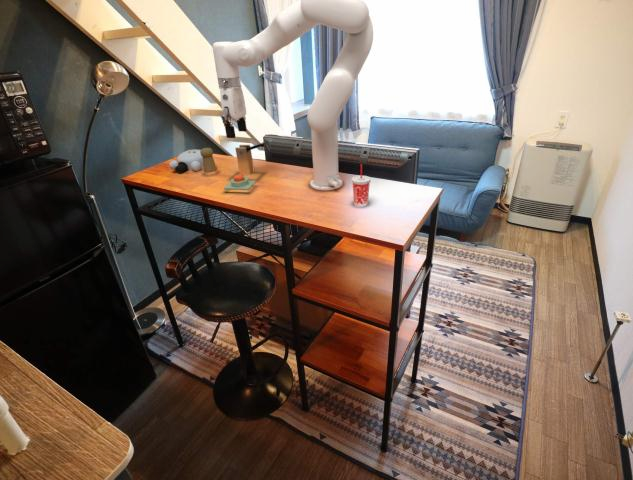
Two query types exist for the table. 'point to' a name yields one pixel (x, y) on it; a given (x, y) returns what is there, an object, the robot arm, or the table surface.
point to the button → (239, 178)
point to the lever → (258, 145)
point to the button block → (239, 185)
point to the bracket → (244, 160)
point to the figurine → (187, 161)
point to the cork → (208, 160)
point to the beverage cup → (361, 190)
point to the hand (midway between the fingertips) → (237, 134)
